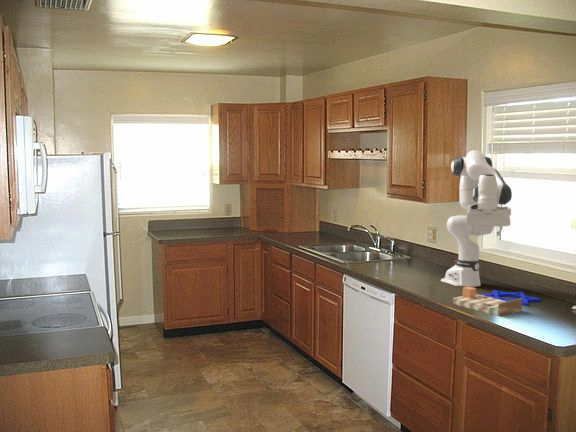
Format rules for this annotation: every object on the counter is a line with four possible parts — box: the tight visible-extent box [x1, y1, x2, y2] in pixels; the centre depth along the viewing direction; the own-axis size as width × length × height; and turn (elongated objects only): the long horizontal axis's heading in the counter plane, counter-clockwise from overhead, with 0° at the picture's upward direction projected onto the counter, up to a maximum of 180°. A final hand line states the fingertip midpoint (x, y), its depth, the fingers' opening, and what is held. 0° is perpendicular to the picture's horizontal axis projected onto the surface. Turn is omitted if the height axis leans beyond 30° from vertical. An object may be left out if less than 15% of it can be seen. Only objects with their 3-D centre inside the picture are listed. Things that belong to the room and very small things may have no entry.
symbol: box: [479, 289, 542, 307], centre depth 317 cm, size 26×2×30 cm
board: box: [452, 293, 523, 317], centre depth 299 cm, size 27×17×6 cm, turn 36°
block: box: [462, 286, 477, 298], centre depth 308 cm, size 4×4×4 cm
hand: (488, 235), depth 295 cm, fingers open, 8 cm apart
